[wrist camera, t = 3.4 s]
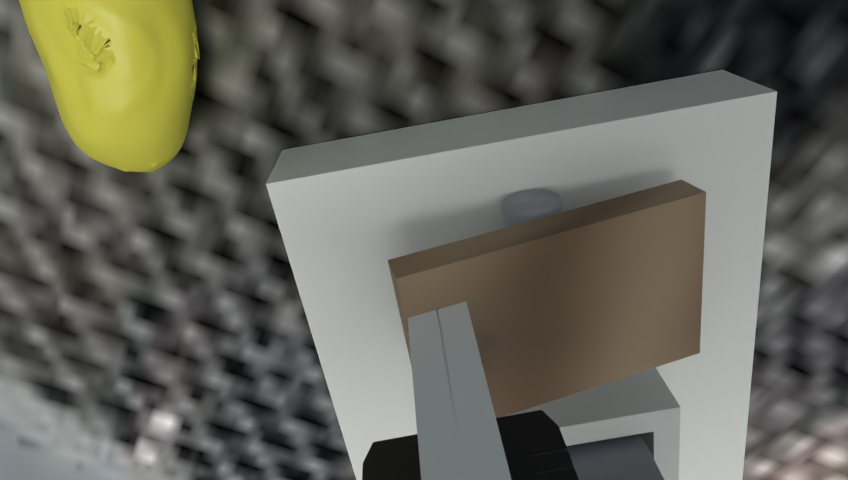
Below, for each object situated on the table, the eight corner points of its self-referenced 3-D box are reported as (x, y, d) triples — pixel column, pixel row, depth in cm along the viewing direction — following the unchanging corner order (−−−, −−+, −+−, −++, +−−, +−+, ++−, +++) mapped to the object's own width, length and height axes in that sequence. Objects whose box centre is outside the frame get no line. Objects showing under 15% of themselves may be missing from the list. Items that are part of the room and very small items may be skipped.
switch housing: (722, 69, 19) (830, 112, 14) (697, 565, 30) (756, 681, 25) (282, 149, 19) (250, 216, 15) (414, 611, 30) (419, 735, 26)
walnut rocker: (680, 179, 16) (706, 191, 15) (678, 334, 18) (699, 352, 17) (387, 259, 15) (396, 279, 14) (422, 415, 17) (431, 439, 16)
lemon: (90, 150, 19) (25, 198, 16) (29, -149, 16) (-71, -173, 12) (226, 154, 20) (192, 201, 16) (196, -139, 16) (144, -160, 13)
